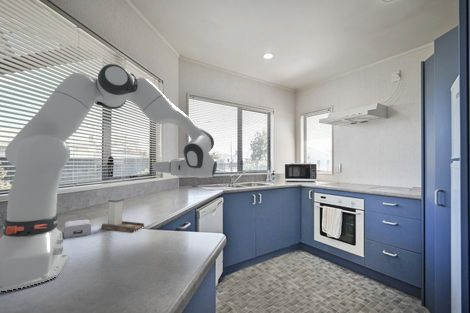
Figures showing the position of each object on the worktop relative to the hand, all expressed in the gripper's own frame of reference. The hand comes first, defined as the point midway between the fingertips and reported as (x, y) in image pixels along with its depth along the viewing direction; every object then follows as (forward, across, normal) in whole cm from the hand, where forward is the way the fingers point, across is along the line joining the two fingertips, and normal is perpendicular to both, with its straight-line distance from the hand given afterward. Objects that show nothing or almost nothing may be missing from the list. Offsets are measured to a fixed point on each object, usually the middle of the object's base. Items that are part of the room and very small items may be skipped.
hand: (155, 166), depth 106 cm
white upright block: (+19, +2, +29) cm, 34 cm away
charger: (+29, +13, +30) cm, 44 cm away
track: (+14, +2, +30) cm, 33 cm away
